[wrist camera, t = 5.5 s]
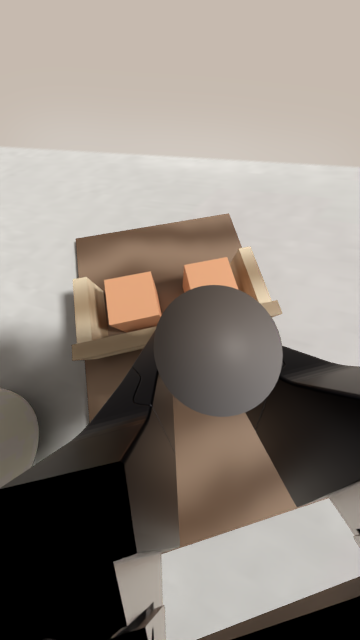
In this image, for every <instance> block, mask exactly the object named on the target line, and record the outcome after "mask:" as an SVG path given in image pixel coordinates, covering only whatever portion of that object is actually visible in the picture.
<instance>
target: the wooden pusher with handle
mask: <svg viewBox="0 0 360 640" xmlns="http://www.w3.org/2000/svg"><path fill="white" fill-rule="evenodd" d="M230 266H231V269H232V272H233V275H234V278H235V281H236V284H237V287H238V289H235V288H232V287H228V286H222V285H206V286H200V287H196V288H193V289H191V290H188V291H186V292H185V293H183V294H181V295H180V296H178V297H177V298H176V299H174V300H173V301H172V302H171V303H170V304H169V306H168V307H167V308H166V309H165V311H164V312H163V314H162V316H161V317H160V320H159V322H158V324H157V326H156V327H152V328H147V329H142V330H138V331H133V332H129V333H124V334H119V335H115V336H110V337H108V329H107V320H106V311H105V302H104V294H103V290H101V289H100V288H99V287H98V286H97V285H96V284H94V283H93V282H92V281H91V280H90V279H88V278H87V277H83V278H77V279H73V291H74V306H75V322H76V338H77V344H73V345H72V361H76V360H90V359H100V358H105V357H109V356H113V355H118V354H122V353H127V352H131V351H135V350H140V349H143V348H144V347H145V345H146V344H147V342H148V340H149V339H150V337H151V336H152V334H153V333H154V331H155V330H156V331H155V336H154V358H155V363H156V367H157V370H158V372H159V375H160V377H161V379H162V381H163V382H164V384H165V386H166V387H167V388H168V390H169V391H170V392H171V393H172V394H173V395H174V397H175V398H176V399H178V400H179V401H180V402H181V403H183V404H184V405H185V406H187V407H189V408H190V409H192V410H194V411H197V412H199V413H201V414H205V415H209V416H216V417H229V416H235V415H239V414H242V413H245V412H247V411H249V410H251V409H253V408H255V407H256V406H257V405H259V404H260V403H261V402H263V401H264V400H265V398H266V397H267V396H268V395H269V394H270V393H271V391H272V390H273V388H274V386H275V384H276V383H277V381H278V378H279V375H280V372H281V367H282V358H283V352H282V343H281V338H280V335H279V332H278V329H277V327H276V325H275V322H274V321H273V319H272V317H274V316H277V315H280V314H282V311H281V308H280V306H279V304H278V301H277V300H276V301H272V300H271V298H270V295H269V293H268V290H267V287H266V285H265V282H264V280H263V277H262V275H261V272H260V270H259V267H258V265H257V262H256V260H255V257H254V255H253V252H252V249H251V247H245V248H239V249H238V251H237V252H236V254H235V256H234V258H233V259H232V261H231V263H230Z"/></svg>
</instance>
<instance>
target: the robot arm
mask: <svg viewBox="0 0 360 640" xmlns="http://www.w3.org/2000/svg"><path fill="white" fill-rule="evenodd" d="M155 331H156V330H155ZM155 331H154V333H153V334H152V336H151V337H150V339H149V340H148V342H147V344H146V345H145V347H144V348H143V350H142V351H141V353H140V354H139V356H138V358H137V359H136V361H135V362H134V364H133V365H132V367H131V368H130V370H129V371H128V373H127V374H126V376H125V377H124V379H123V380H122V382H121V383H120V385H119V386H118V387H117V388H116V390H115V391H114V392H113V394H112V395H111V396H110V398H109V399H108V400H107V401H106V403H105V404H104V405H103V406H102V408H101V409H100V410H99V412H98V413H97V414H96V415H95V417H94V418H93V419H92V420H91V422H90V423H89V424H88V425H87V426H86V428H85V429H84V430H83V431H82V432H81V433H80V434H79V435H78V436H76V437H75V438H74V439H73V440H72V441H70V442H69V443H67V444H66V445H65V446H63V447H62V448H60V449H58V450H57V451H55V452H54V453H52V454H51V455H49V456H48V457H46V458H45V459H43V460H42V461H40V462H39V463H37V464H36V465H34V466H33V467H31V468H29V469H28V470H26V471H25V472H23V473H22V474H20V475H19V476H17V477H16V478H14V479H13V480H11V481H10V482H8V483H7V484H5V485H4V486H2V487H1V488H0V640H166V625H165V607H164V605H163V596H162V565H161V553H164V552H167V551H170V550H173V549H176V548H179V547H180V537H179V516H178V495H177V474H176V455H175V432H174V412H173V394H172V393H171V392H170V391H169V390H168V388H167V387H166V386H165V384H164V382H163V381H162V379H161V377H160V375H159V372H158V370H157V367H156V363H155V358H154V336H155ZM282 352H283V358H282V367H281V372H280V375H279V378H278V381H277V383H276V384H275V386H274V388H273V390H272V391H271V393H270V394H269V395H268V396H267V397H266V398H265V400H264V401H263V402H261V403H260V404H259V405H257V406H256V407H255V408H253V409H251V410H249V411H247V412H245V413H246V415H247V417H248V419H249V420H250V422H251V424H252V426H253V428H254V430H255V431H256V434H257V435H258V437H259V439H260V441H261V443H262V445H263V446H264V448H265V450H266V452H267V454H268V456H269V457H270V459H271V461H272V463H273V465H274V467H275V469H276V470H277V472H278V474H279V476H280V478H281V480H282V481H283V483H284V485H285V487H286V489H287V491H288V492H289V494H290V496H291V498H292V500H293V502H294V503H295V505H296V507H297V508H298V507H301V506H304V505H307V504H310V503H313V502H316V501H319V500H322V499H325V498H328V497H329V499H330V500H331V502H332V503H333V505H334V506H335V508H336V509H337V510H338V512H339V513H340V515H341V516H342V518H343V519H344V521H345V522H346V524H347V525H348V527H349V528H350V530H351V531H352V533H353V534H354V536H353V537H354V539H355V541H356V543H357V544H358V546H359V547H360V367H358V366H346V365H340V364H335V363H331V362H328V361H325V360H322V359H319V358H316V357H313V356H310V355H307V354H305V353H302V352H299V351H296V350H293V349H290V348H287V347H284V346H282ZM197 640H360V577H357V578H355V579H352V580H350V581H347V582H344V583H342V584H339V585H337V586H334V587H332V588H329V589H326V590H324V591H321V592H319V593H316V594H313V595H311V596H308V597H306V598H303V599H301V600H298V601H295V602H293V603H290V604H288V605H285V606H282V607H280V608H277V609H275V610H272V611H270V612H267V613H264V614H262V615H259V616H257V617H254V618H251V619H249V620H246V621H244V622H241V623H239V624H236V625H233V626H231V627H228V628H226V629H223V630H220V631H218V632H215V633H213V634H210V635H208V636H205V637H202V638H200V639H197Z"/></svg>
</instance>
